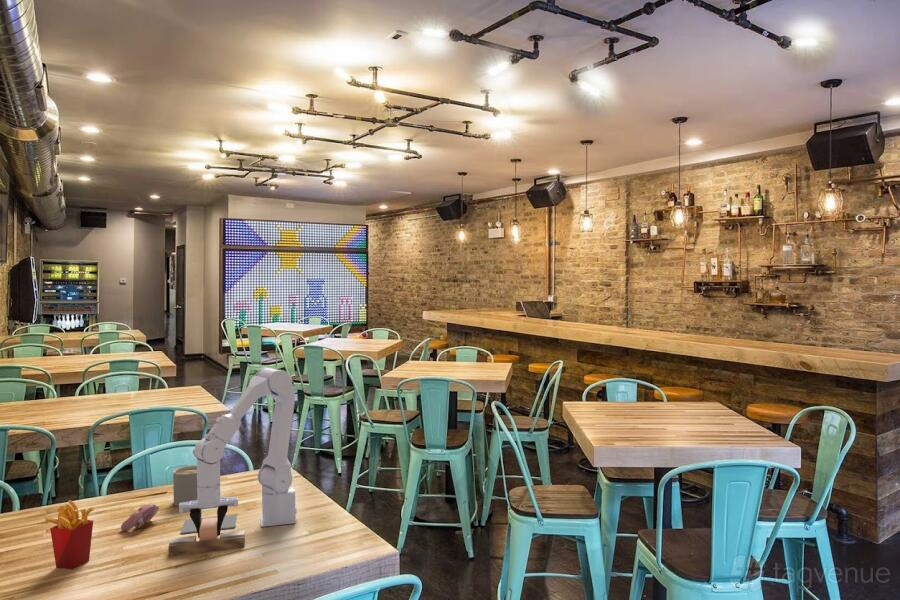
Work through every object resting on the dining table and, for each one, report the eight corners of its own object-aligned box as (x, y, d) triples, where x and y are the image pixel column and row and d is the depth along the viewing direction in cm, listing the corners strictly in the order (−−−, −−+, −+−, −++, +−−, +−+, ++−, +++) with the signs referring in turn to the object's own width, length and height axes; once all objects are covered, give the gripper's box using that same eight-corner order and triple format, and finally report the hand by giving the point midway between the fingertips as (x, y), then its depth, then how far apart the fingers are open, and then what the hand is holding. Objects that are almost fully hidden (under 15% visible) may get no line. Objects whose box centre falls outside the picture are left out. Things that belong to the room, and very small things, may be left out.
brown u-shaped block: (244, 540, 161) (244, 529, 161) (244, 546, 157) (244, 535, 157) (171, 549, 156) (170, 538, 156) (168, 556, 152) (168, 544, 152)
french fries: (95, 559, 151) (94, 499, 150) (67, 574, 142) (66, 511, 142) (66, 556, 153) (65, 497, 152) (36, 571, 144) (35, 508, 144)
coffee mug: (166, 505, 189) (166, 473, 189) (187, 494, 198) (186, 464, 198) (204, 508, 186) (204, 475, 186) (223, 497, 195) (223, 466, 195)
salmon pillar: (218, 535, 165) (218, 517, 165) (216, 547, 157) (215, 528, 157) (202, 537, 164) (202, 518, 164) (199, 549, 156) (199, 530, 156)
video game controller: (130, 538, 167) (140, 516, 167) (117, 529, 168) (127, 508, 168) (155, 524, 177) (164, 504, 176) (142, 516, 178) (151, 496, 177)
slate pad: (236, 515, 180) (236, 514, 180) (234, 528, 170) (234, 526, 170) (185, 521, 175) (185, 519, 175) (180, 534, 166) (180, 532, 166)
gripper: (238, 477, 167) (238, 526, 167) (181, 482, 163) (181, 532, 163) (237, 485, 160) (237, 536, 161) (177, 490, 156) (178, 543, 156)
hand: (209, 535), depth 161 cm, fingers closed on salmon pillar, 4 cm apart
